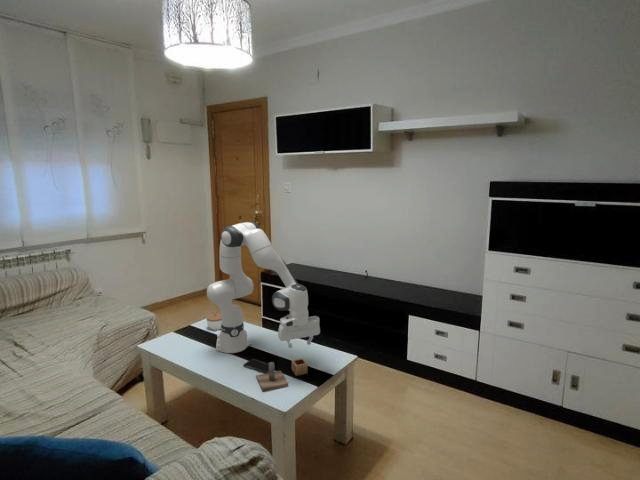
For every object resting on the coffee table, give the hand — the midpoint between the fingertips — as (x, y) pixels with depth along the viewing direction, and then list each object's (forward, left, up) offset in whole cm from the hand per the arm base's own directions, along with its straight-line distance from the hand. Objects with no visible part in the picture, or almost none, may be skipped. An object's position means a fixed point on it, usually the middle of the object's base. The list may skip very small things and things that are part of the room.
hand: (299, 345), depth 188 cm
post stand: (+4, -15, -14) cm, 21 cm away
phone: (-12, -17, -14) cm, 25 cm away
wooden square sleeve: (0, 0, -14) cm, 14 cm away
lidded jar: (-68, -30, -14) cm, 76 cm away
